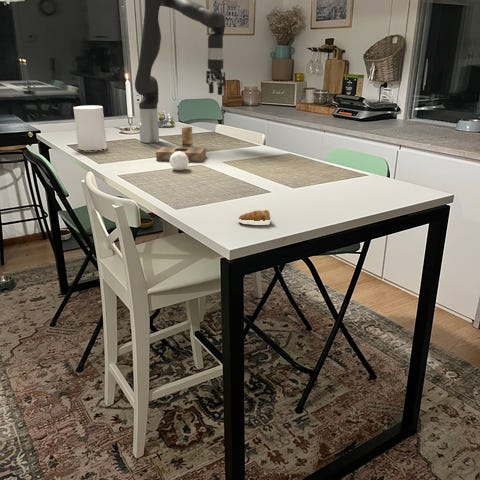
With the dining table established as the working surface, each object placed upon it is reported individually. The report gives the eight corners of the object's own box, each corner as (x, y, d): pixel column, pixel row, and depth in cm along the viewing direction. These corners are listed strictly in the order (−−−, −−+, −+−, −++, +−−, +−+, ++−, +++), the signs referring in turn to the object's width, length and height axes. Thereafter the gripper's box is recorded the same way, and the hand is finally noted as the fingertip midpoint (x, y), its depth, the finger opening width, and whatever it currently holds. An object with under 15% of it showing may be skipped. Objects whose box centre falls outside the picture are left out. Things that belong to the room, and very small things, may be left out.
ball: (181, 177, 201) (179, 164, 194) (167, 168, 203) (164, 155, 197) (193, 165, 204) (191, 153, 197) (178, 157, 206) (176, 144, 200)
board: (156, 160, 217) (155, 151, 215) (163, 155, 228) (163, 146, 227) (200, 162, 215) (200, 153, 213) (205, 156, 226) (205, 147, 224)
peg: (182, 153, 232) (181, 128, 227) (184, 151, 236) (183, 126, 231) (191, 153, 231) (190, 128, 227) (192, 152, 235) (192, 126, 231)
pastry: (240, 228, 138) (240, 215, 137) (236, 220, 145) (236, 208, 143) (272, 226, 140) (272, 213, 138) (267, 218, 146) (267, 206, 145)
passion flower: (162, 136, 306) (149, 121, 301) (165, 130, 315) (153, 115, 310) (176, 126, 302) (163, 110, 297) (178, 120, 312) (166, 105, 307)
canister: (99, 151, 235) (94, 109, 228) (73, 150, 238) (68, 108, 230) (111, 146, 247) (107, 105, 240) (86, 145, 250) (82, 105, 242)
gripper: (201, 58, 235) (201, 93, 241) (216, 59, 224) (216, 95, 230) (214, 57, 239) (214, 92, 245) (230, 59, 228) (229, 95, 234)
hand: (215, 93), depth 238 cm, fingers open, 8 cm apart
